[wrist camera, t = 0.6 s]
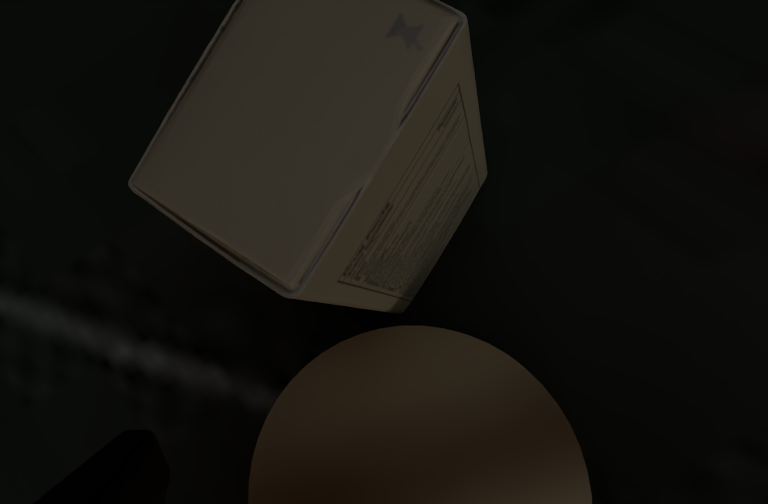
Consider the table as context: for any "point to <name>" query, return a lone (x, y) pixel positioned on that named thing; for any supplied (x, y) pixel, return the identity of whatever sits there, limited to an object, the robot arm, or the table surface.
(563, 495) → the tan round disc
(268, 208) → the skincare box
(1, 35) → the table surface
